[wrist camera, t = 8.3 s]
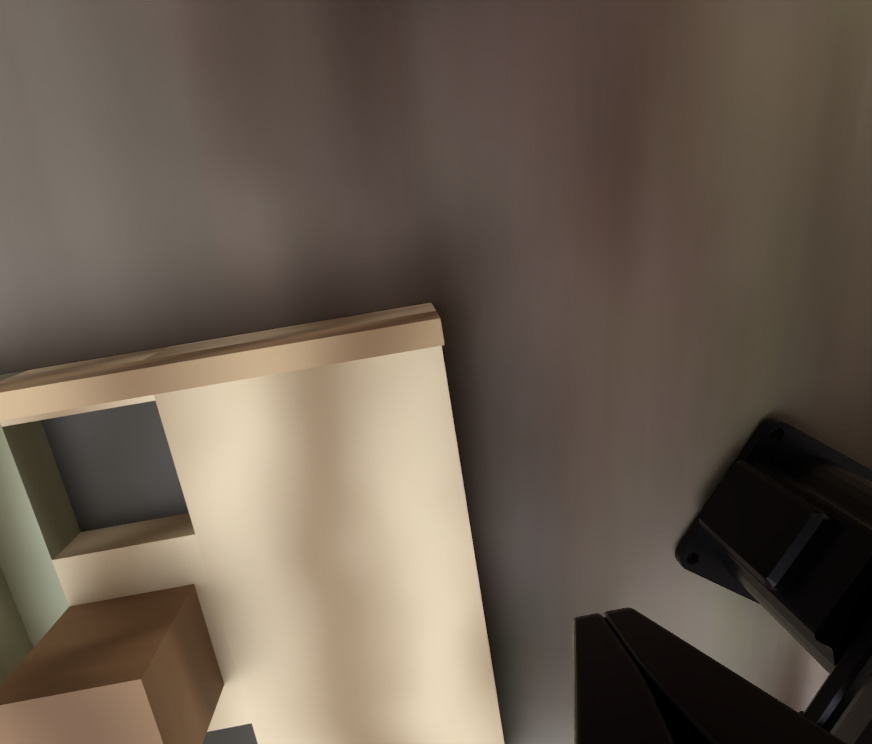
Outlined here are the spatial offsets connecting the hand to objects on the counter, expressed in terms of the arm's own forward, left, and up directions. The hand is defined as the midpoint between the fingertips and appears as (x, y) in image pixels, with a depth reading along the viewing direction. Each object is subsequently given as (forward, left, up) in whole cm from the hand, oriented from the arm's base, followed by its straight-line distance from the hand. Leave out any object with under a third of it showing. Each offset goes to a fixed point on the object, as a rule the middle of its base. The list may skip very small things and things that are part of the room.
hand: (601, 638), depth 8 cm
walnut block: (+6, +12, -10) cm, 17 cm away
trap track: (+3, +10, -12) cm, 16 cm away
